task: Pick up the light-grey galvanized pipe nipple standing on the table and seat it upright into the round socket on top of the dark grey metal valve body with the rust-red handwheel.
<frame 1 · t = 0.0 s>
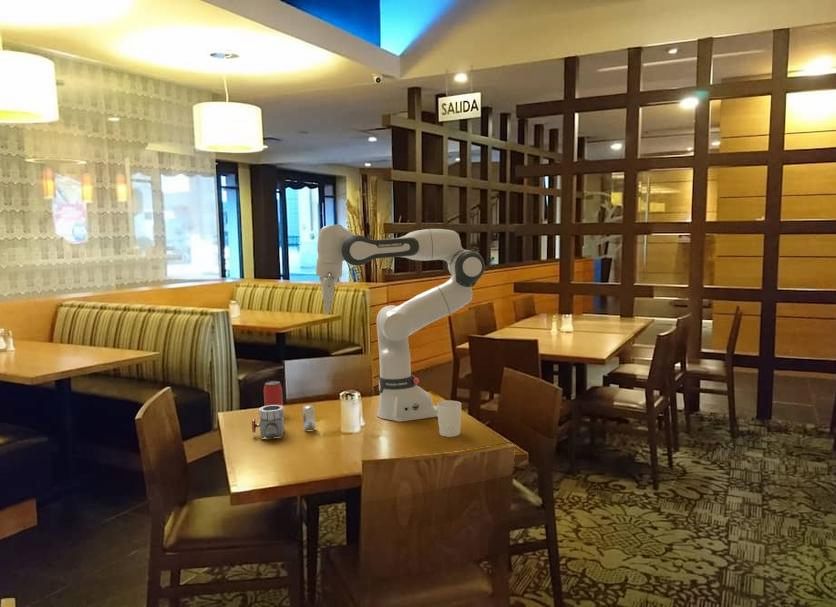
hand: (326, 311, 221), 39 cm above the table, tool pointing down, fingers open, 8 cm apart
valve body: (272, 434, 211), on the table
beer can: (274, 415, 234), on the table
white cup: (449, 434, 206), on the table
pipe nipple: (309, 429, 214), on the table
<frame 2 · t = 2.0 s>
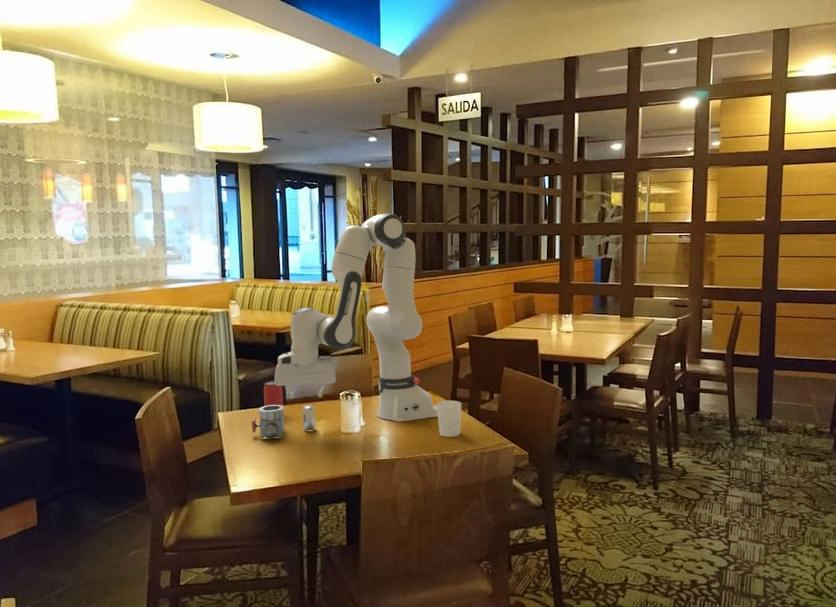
hand: (305, 397, 213), 11 cm above the table, tool pointing down, fingers open, 8 cm apart
nothing on the table moved.
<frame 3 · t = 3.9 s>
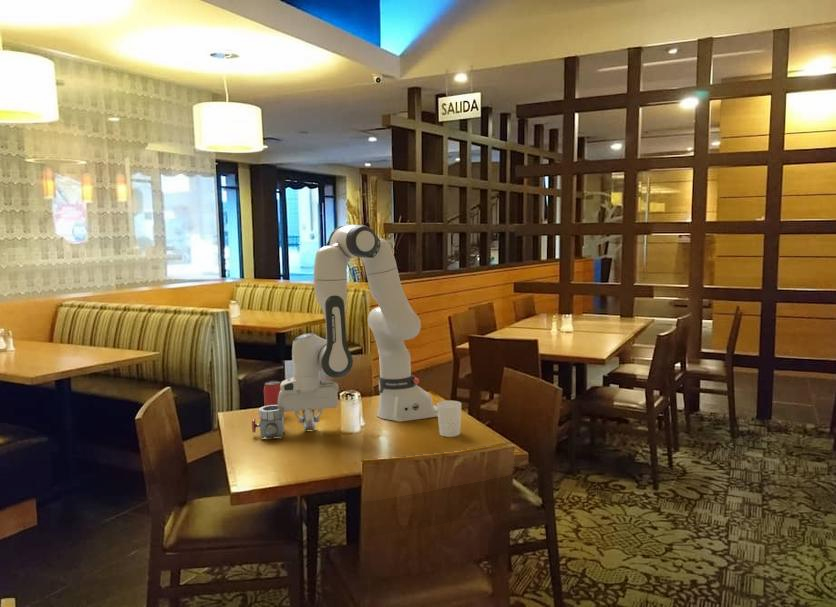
hand: (309, 422, 214), 3 cm above the table, tool pointing down, fingers closed on pipe nipple, 4 cm apart
pipe nipple: (309, 429, 214), on the table, touching gripper
everything else where it was.
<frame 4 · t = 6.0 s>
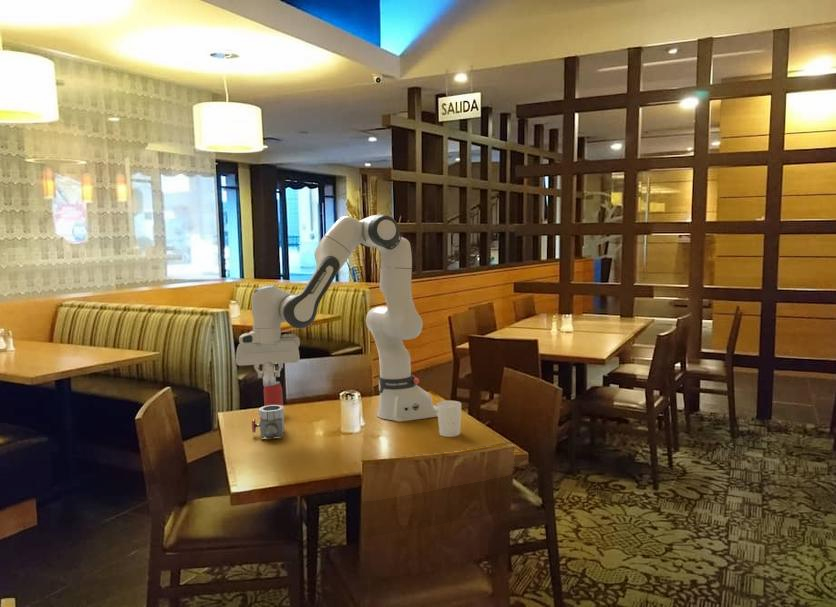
hand: (269, 377, 208), 19 cm above the table, tool pointing down, fingers closed on pipe nipple, 4 cm apart
pipe nipple: (269, 384, 209), point 17 cm above the table, touching gripper
everything else where it was.
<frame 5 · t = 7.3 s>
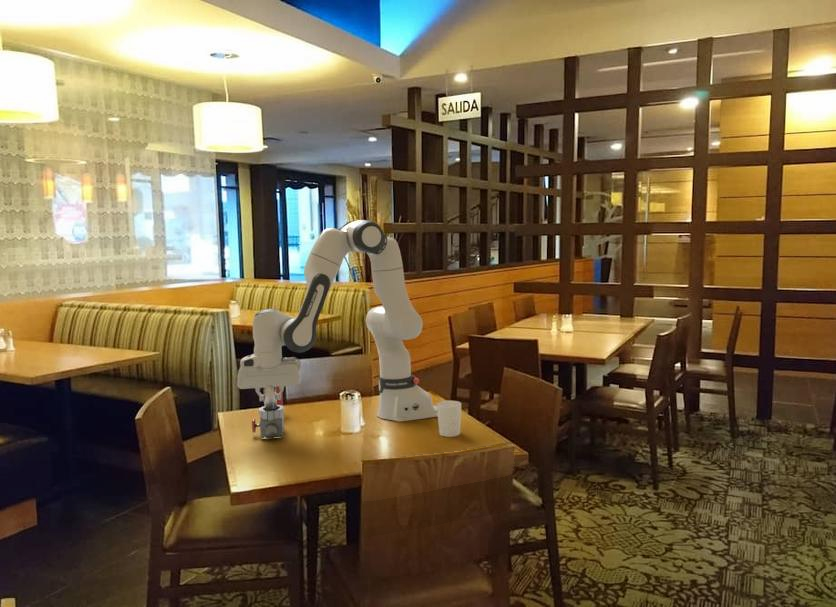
hand: (270, 400, 209), 12 cm above the table, tool pointing down, fingers closed on pipe nipple, 4 cm apart
pipe nipple: (270, 407, 209), point 9 cm above the table, touching gripper
everything else where it was.
when the fingers open (10 cm above the table, at t = 8.5 s): pipe nipple stays where it is, resting on valve body.
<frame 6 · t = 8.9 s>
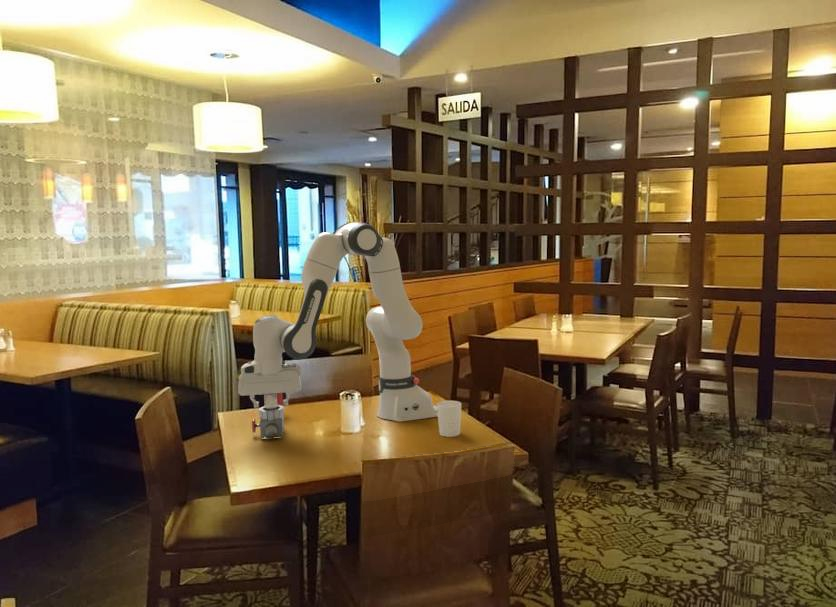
hand: (271, 406, 210), 10 cm above the table, tool pointing down, fingers open, 8 cm apart
pipe nipple: (271, 417, 210), point 6 cm above the table, touching valve body
everything else where it was.
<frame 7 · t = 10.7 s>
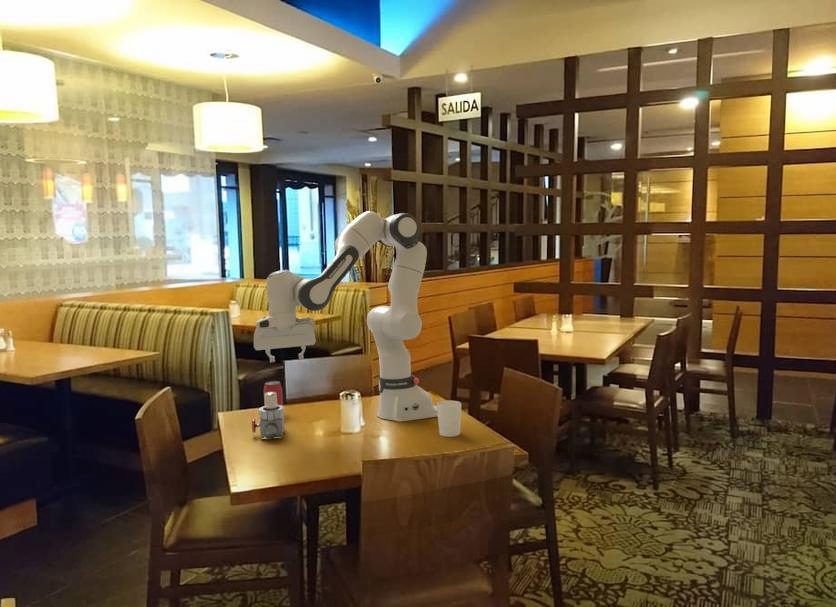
hand: (286, 360, 212), 24 cm above the table, tool pointing down, fingers open, 8 cm apart
nothing on the table moved.
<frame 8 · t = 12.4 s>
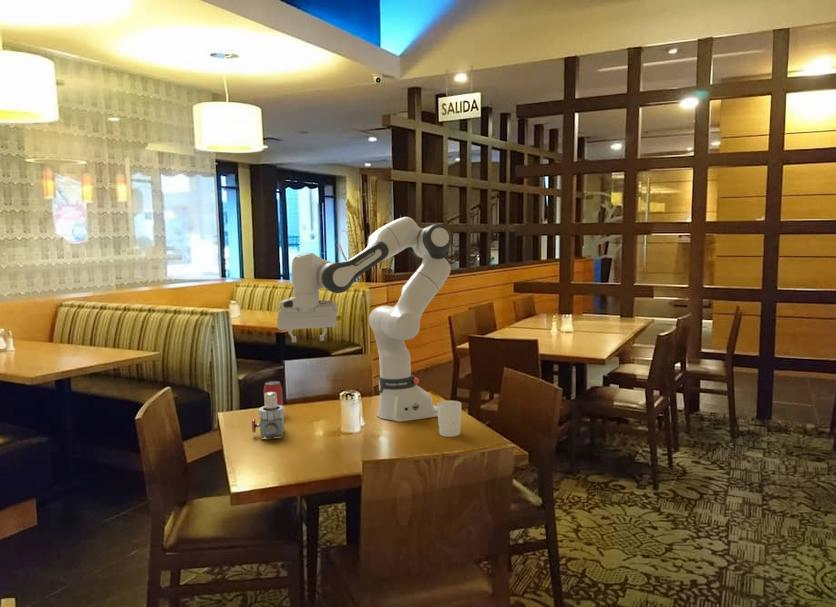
hand: (308, 341, 218), 29 cm above the table, tool pointing down, fingers open, 8 cm apart
nothing on the table moved.
at the end: pipe nipple 0.0 cm off-centre on the valve body, point 6.0 cm above the valve body's base; pipe nipple tilted 0°; the gripper is holding nothing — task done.
